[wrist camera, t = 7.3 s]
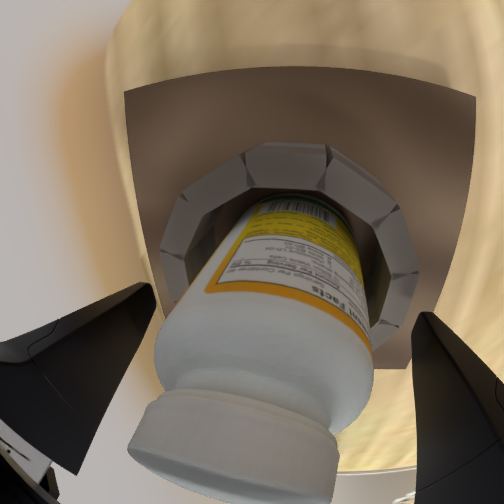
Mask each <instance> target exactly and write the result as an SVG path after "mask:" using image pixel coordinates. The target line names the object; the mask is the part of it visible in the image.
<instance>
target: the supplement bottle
mask: <svg viewBox="0 0 504 504" xmlns="http://www.w3.org/2000/svg"><path fill="white" fill-rule="evenodd" d="M154 361H155V367H156V372H157V375H158V378H159V380H160V383H161V384H162V386H163V388H164V390H165V391H166V392H164V393H162V394H161V395H160V396H159V397H158V398H157V400H155V401H152V402H151V403H150V404H148V406H147V407H146V410H145V413H144V416H143V417H142V419H141V421H140V423H139V425H138V427H137V429H136V431H135V433H134V435H133V437H132V439H131V441H130V443H129V444H128V449H127V450H128V453H129V454H130V456H132V458H134V459H135V460H136V461H137V462H138V463H140V464H141V465H142V466H144V467H145V468H147V469H148V470H150V471H151V472H153V473H155V474H156V475H158V476H160V477H162V478H164V479H166V480H168V481H170V482H172V483H174V484H176V485H178V486H181V487H183V488H185V489H188V490H190V491H193V492H195V493H198V494H201V495H204V496H207V497H210V498H213V499H216V500H219V501H223V502H227V503H231V504H330V503H331V501H332V497H333V492H334V486H335V481H336V474H337V468H338V463H339V457H340V455H339V452H338V449H337V441H336V439H335V437H334V435H336V434H338V433H339V432H341V431H342V430H344V429H345V428H346V427H348V426H349V425H350V424H351V423H352V422H353V421H354V420H356V418H357V417H358V416H359V415H360V414H361V412H362V411H363V409H364V408H365V406H366V404H367V402H368V400H369V398H370V395H371V391H372V386H373V376H374V368H373V354H372V343H371V333H370V325H369V317H368V309H367V302H366V297H365V291H364V284H363V277H362V271H361V265H360V260H359V254H358V248H357V244H356V240H355V237H354V234H353V232H352V230H351V228H350V226H349V224H348V223H347V221H346V220H345V218H344V217H343V216H342V215H341V214H340V213H339V212H338V211H337V210H336V209H335V208H333V207H332V206H331V205H329V204H328V203H326V202H324V201H322V200H320V199H318V198H316V197H313V196H310V195H305V194H300V193H281V194H276V195H272V196H269V197H267V198H264V199H262V200H260V201H258V202H257V203H255V204H254V205H252V206H251V207H250V208H249V209H247V210H246V211H245V212H244V214H243V215H242V216H241V217H240V218H239V220H238V221H237V222H236V223H235V225H234V226H233V228H232V229H231V230H230V232H229V233H228V234H227V236H226V237H225V238H224V240H223V241H222V242H221V244H220V245H219V247H218V248H217V249H216V250H215V252H214V253H213V255H212V256H211V257H210V259H209V260H208V261H207V263H206V264H205V266H204V267H203V268H202V270H201V271H200V272H199V274H198V275H197V277H196V278H195V279H194V281H193V282H192V283H191V285H190V286H189V287H188V289H187V290H186V291H185V293H184V294H183V296H182V297H181V298H180V300H179V301H178V303H177V304H176V305H175V307H174V308H173V309H172V311H171V312H170V314H169V315H168V317H167V318H166V320H165V321H164V323H163V324H162V326H161V328H160V331H159V333H158V336H157V339H156V343H155V350H154Z"/></svg>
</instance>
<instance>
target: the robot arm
mask: <svg viewBox="0 0 504 504" xmlns="http://www.w3.org/2000/svg"><path fill="white" fill-rule="evenodd" d="M155 309H156V299H155V295H154V292H153V288H152V286H151V284H149V283H145V282H139V283H136V284H134V285H132V286H130V287H127V288H125V289H123V290H121V291H119V292H116V293H114V294H112V295H110V296H107V297H105V298H103V299H101V300H99V301H96V302H94V303H92V304H90V305H88V306H85V307H83V308H81V309H79V310H77V311H75V312H72V313H71V314H68V315H66V316H64V317H62V318H60V319H57V320H55V321H53V322H51V323H49V324H46V325H44V326H42V327H40V328H37V329H35V330H33V331H30V332H27V333H25V334H23V335H20V336H18V337H15V338H12V339H10V340H7V341H4V342H0V504H60V503H59V502H58V501H57V498H58V497H59V495H60V494H59V490H58V486H57V482H56V478H55V473H54V469H53V468H52V467H51V466H50V465H51V463H52V462H53V461H54V462H55V463H57V464H58V465H60V466H61V467H63V468H64V469H66V470H68V471H69V472H71V473H73V474H74V475H76V476H77V474H78V472H79V470H80V468H81V465H82V463H83V461H84V458H85V456H86V454H87V451H88V449H89V447H90V444H91V443H92V440H93V438H94V436H95V434H96V431H97V429H98V427H99V425H100V423H101V421H102V418H103V416H104V414H105V412H106V410H107V408H108V406H109V404H110V402H111V400H112V398H113V396H114V394H115V392H116V390H117V388H118V386H119V384H120V382H121V380H122V378H123V376H124V374H125V372H126V370H127V368H128V366H129V365H130V362H131V361H132V359H133V357H134V355H135V353H136V351H137V349H138V348H139V346H140V344H141V341H142V339H143V337H144V335H145V332H146V330H147V328H148V325H149V323H150V321H151V318H152V316H153V313H154V311H155ZM411 348H412V378H413V388H414V398H415V411H416V429H417V475H416V493H415V502H414V504H504V384H503V382H502V381H501V380H500V379H499V378H498V377H497V376H496V375H495V374H494V373H493V371H492V370H491V369H490V368H489V367H488V366H487V365H486V364H485V363H484V362H483V361H482V360H481V359H480V358H479V357H478V356H477V355H476V354H475V353H474V352H473V351H472V350H471V349H470V348H469V347H468V346H467V345H466V344H465V343H464V342H463V341H462V340H461V339H460V338H459V337H458V336H457V335H456V334H455V333H454V332H453V331H452V330H451V329H450V328H449V327H448V326H447V325H446V324H445V323H444V322H443V321H441V320H440V319H439V318H438V317H437V316H436V315H435V314H434V313H433V312H430V311H422V312H420V313H419V315H418V317H417V319H416V322H415V324H414V327H413V329H412V332H411ZM496 377H497V378H496Z"/></svg>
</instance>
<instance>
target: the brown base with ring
mask: <svg viewBox="0 0 504 504" xmlns="http://www.w3.org/2000/svg"><path fill="white" fill-rule="evenodd" d="M124 99H125V113H126V125H127V135H128V144H129V152H130V160H131V167H132V174H133V181H134V187H135V193H136V199H137V204H138V210H139V215H140V220H141V225H142V230H143V235H144V239H145V244H146V248H147V252H148V257H149V261H150V265H151V269H152V273H153V277H154V281H155V284H156V288H157V292H158V295H159V299H160V302H161V306H162V309H163V313H164V316H165V319H166V318H167V317H168V315H169V314H170V312H171V311H172V309H173V308H174V307H175V305H176V304H177V303H178V301H179V300H180V298H181V297H182V296H183V294H184V293H185V291H186V290H187V289H188V287H189V286H190V285H191V283H192V282H193V281H194V279H195V278H196V277H197V275H198V274H199V272H200V271H201V270H202V268H203V267H204V266H205V264H206V263H207V261H208V260H209V259H210V257H211V256H212V255H213V253H214V252H215V250H216V249H217V248H218V247H219V245H220V244H221V242H222V241H223V240H224V238H225V237H226V236H227V234H228V233H229V232H230V230H231V229H232V228H233V226H234V225H235V223H236V222H237V221H238V220H239V218H240V217H241V216H242V215H243V214H244V212H245V211H246V210H247V209H249V208H250V207H251V206H252V205H254V204H255V203H257V202H258V201H260V200H262V199H264V198H267V197H269V196H272V195H276V194H281V193H300V194H305V195H310V196H313V197H316V198H318V199H320V200H322V201H324V202H326V203H328V204H329V205H331V206H332V207H333V208H335V209H336V210H337V211H338V212H339V213H340V214H341V215H342V216H343V217H344V218H345V220H346V221H347V223H348V224H349V226H350V228H351V230H352V232H353V234H354V237H355V240H356V244H357V248H358V254H359V260H360V265H361V271H362V277H363V284H364V291H365V297H366V302H367V309H368V317H369V325H370V333H371V343H372V354H373V368H374V369H406V367H407V365H408V364H409V362H410V360H411V358H412V348H411V332H412V329H413V327H414V324H415V322H416V319H417V317H418V315H419V313H420V312H422V311H430V312H433V311H434V309H435V306H436V304H437V301H438V299H439V296H440V294H441V291H442V288H443V285H444V283H445V280H446V277H447V274H448V271H449V268H450V265H451V262H452V259H453V255H454V252H455V248H456V245H457V241H458V237H459V234H460V230H461V226H462V221H463V217H464V212H465V207H466V202H467V197H468V192H469V185H470V179H471V172H472V164H473V155H474V143H475V125H476V97H474V96H472V95H469V94H466V93H463V92H460V91H457V90H453V89H450V88H447V87H443V86H440V85H436V84H432V83H428V82H424V81H420V80H416V79H411V78H406V77H401V76H396V75H391V74H385V73H378V72H371V71H363V70H354V69H344V68H330V67H304V66H286V67H259V68H246V69H235V70H226V71H218V72H210V73H204V74H198V75H192V76H186V77H181V78H176V79H171V80H167V81H162V82H158V83H154V84H150V85H146V86H142V87H139V88H135V89H131V90H128V91H125V92H124Z"/></svg>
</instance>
